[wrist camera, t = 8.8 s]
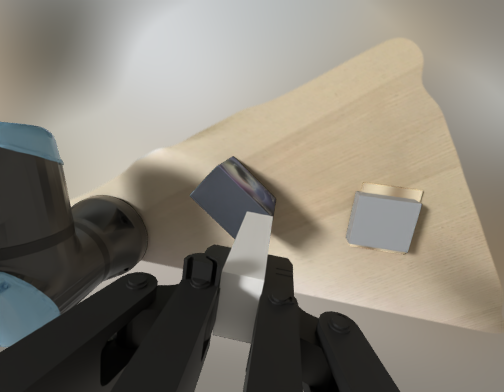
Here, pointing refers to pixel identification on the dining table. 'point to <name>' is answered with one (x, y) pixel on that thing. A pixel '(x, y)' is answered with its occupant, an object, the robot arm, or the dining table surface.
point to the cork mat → (389, 192)
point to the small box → (232, 195)
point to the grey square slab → (382, 221)
